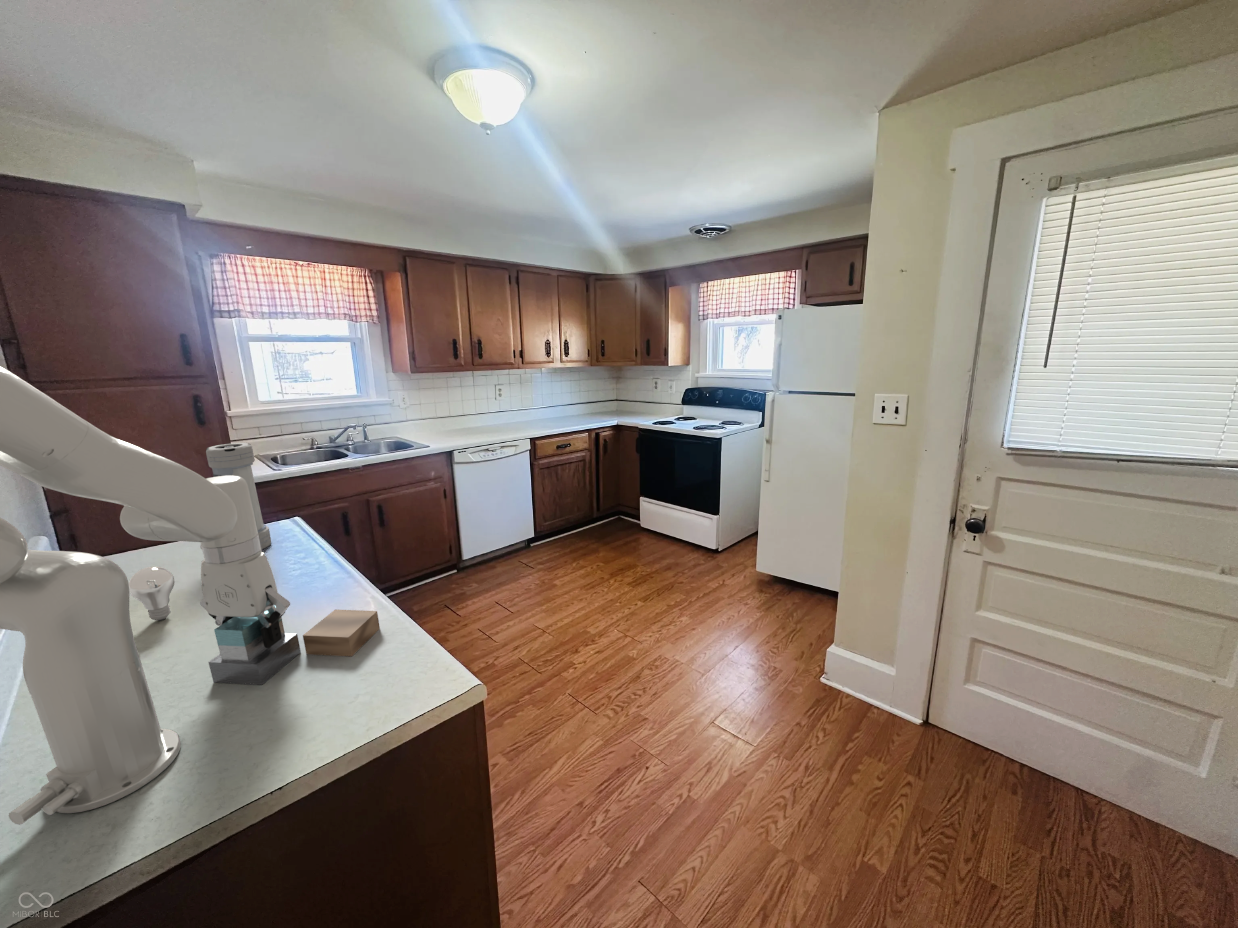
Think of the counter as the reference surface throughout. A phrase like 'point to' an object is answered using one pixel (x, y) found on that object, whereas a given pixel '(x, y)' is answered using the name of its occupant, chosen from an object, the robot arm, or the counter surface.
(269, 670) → the stand
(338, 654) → the stand
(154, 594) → the light bulb
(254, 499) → the canister
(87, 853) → the counter surface
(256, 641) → the teal and grey block
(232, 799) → the counter surface
